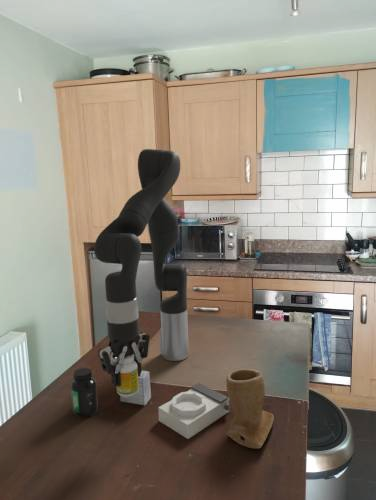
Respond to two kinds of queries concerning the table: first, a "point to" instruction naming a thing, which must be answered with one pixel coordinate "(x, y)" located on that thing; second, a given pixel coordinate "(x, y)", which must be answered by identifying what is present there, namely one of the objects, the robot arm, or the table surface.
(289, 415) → the table surface
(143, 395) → the medicine box
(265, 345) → the table surface
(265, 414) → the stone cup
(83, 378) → the supplement bottle
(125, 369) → the supplement bottle
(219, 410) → the white recessed base
